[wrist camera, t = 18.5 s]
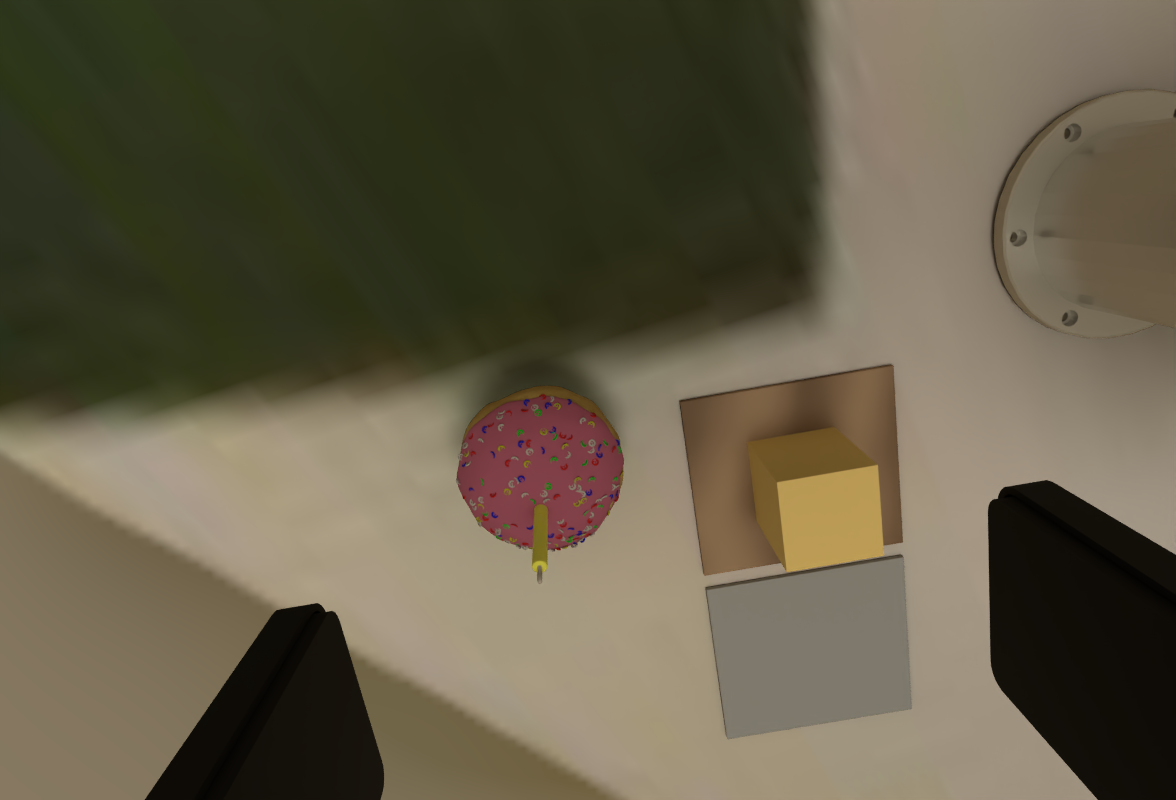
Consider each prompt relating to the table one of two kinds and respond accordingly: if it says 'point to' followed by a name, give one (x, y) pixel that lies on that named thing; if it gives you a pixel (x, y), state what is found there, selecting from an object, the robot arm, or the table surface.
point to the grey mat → (811, 646)
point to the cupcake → (540, 469)
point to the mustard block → (816, 498)
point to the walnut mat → (774, 411)
